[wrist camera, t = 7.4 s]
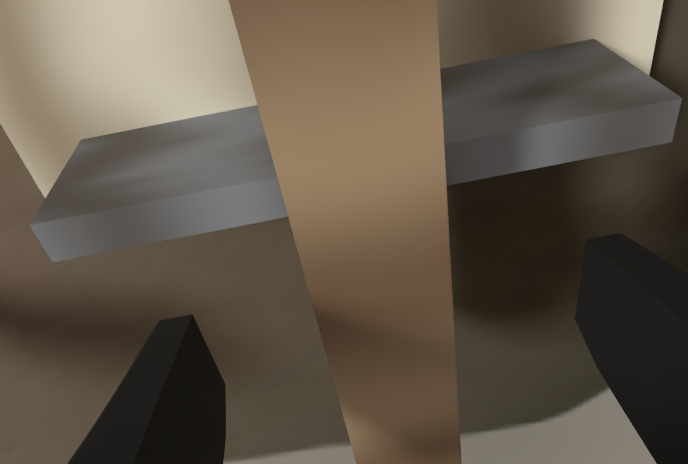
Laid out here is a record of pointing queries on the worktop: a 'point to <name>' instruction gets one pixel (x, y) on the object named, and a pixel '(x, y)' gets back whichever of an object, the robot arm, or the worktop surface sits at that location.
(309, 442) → the worktop surface
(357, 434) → the walnut bar
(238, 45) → the board
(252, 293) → the worktop surface
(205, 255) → the worktop surface
